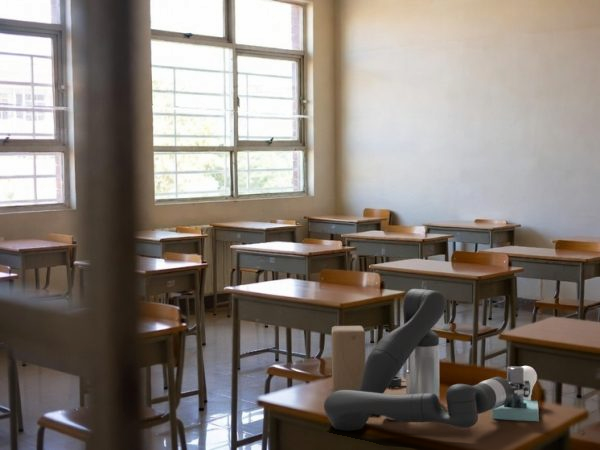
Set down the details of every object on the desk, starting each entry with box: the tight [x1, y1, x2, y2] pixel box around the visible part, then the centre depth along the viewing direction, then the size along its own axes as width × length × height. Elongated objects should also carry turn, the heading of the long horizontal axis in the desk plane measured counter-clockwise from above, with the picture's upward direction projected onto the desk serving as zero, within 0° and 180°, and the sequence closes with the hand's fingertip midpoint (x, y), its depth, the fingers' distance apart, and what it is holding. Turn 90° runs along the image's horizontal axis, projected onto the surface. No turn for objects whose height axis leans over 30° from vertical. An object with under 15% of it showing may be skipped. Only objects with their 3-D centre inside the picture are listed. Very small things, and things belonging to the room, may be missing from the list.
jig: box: [491, 399, 540, 422], centre depth 219 cm, size 12×12×2 cm
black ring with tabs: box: [388, 375, 406, 389], centre depth 254 cm, size 8×10×3 cm
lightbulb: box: [521, 365, 538, 401], centre depth 230 cm, size 6×6×11 cm
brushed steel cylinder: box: [506, 365, 524, 408], centre depth 219 cm, size 4×4×12 cm
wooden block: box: [331, 325, 366, 393], centre depth 247 cm, size 10×10×20 cm
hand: (519, 383), depth 221 cm, fingers closed on brushed steel cylinder, 4 cm apart
